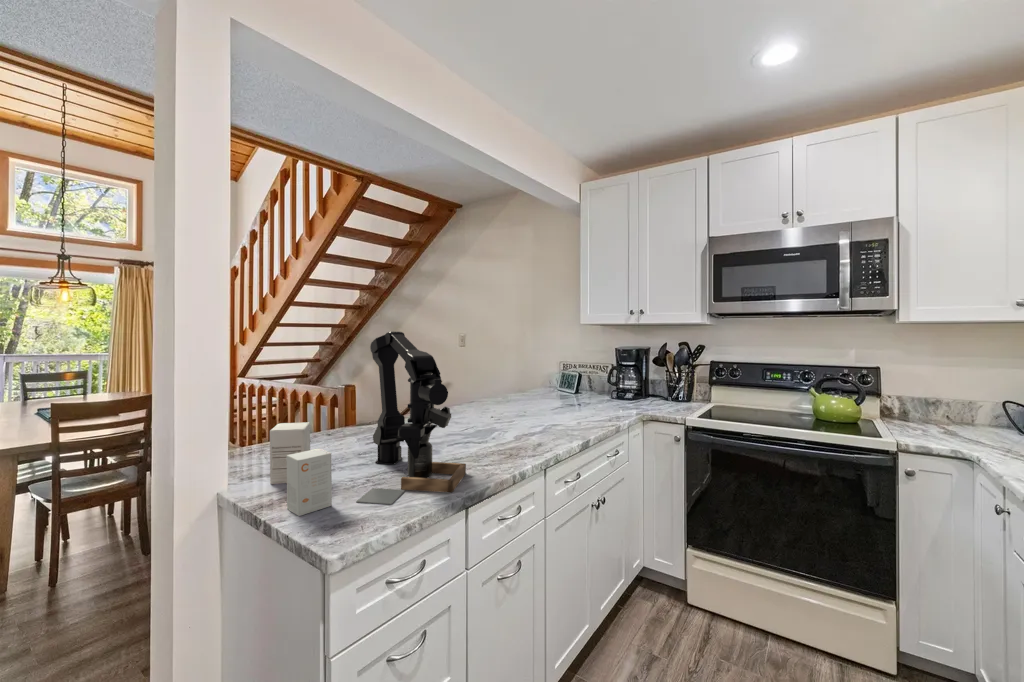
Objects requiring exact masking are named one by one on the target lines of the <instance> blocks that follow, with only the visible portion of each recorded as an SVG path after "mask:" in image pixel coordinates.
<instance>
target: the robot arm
mask: <svg viewBox="0 0 1024 682" xmlns="http://www.w3.org/2000/svg"><path fill="white" fill-rule="evenodd" d="M369 348H370V352H371V355H372V360H373V361H374V362H375V364H376V365H377V366H378V372H379V373H378V374H379V385H380V386H379V389H380V400H381V413H380V414H379V415H380V416H379V417H378V419H377V426H376V429H375V431H374V432H373V435H372V441H373V443H374V444H375V445H377V459H376V461H375V462H374V463H375V464H381V465H382V464H383V465H396V464H397V463H398V462H400V461H401V460H402V459H403V457H402V446H401V443H402V442H405V444H406V445H407V448H408V447H409V449H410V451H411V454H412V456H413V458H415V459H417V458H418V455H419V449H420V443H421V439H422V438H423V437H424V436H425V435H426V434H424V432H427V433H429V440H428V442H429V441H430V437H431V434H432V431H434V430H435V429H436V428H437V427H438V428H441V429H445V428H446V427H448V426H449V423H450V420H451V419H452V413H451V409H450V407H448V406H444V407H442V408H441V409H440V408H436V407H435V406H440V405H442V404H444V403H445V402H446V401H447V399H448V397H449V391H448V388H447V386H446V385H444V384H443V382H442V377H441V372H440V370H439V368H438V367H439V366H438V365H437V362H436V360H435V358H434V357H433V355H432V354H431V353H428V352H427V351H422V350H420V349H418V348H417V347H416V346H415V345H414V343H412V342H411V341H410V340H409V339H408V338H407V337H406V336H405V333H404V332H403V331H388V332H386V333H385V334H383V335H380V336H379V337H378V336H377V337H376V338H375V339H373V340H372V341H371V343H370V347H369ZM399 356H400V357H401V359H402V360H403V361H404V369H405V370H406V373H407V374H408V375H409V377H408V379H407V382H408V383H409V384H410V385H409V387H410V389H409V397H410V398H409V403H408V404H407V409H409V418H408V419H407V422H406V419H405V415H404V414H401V412H400V411H399V409H398V398H397V396H398V395H397V383H396V372H395V370H396V369H395V364H396V362H397V360H398V358H399Z"/></svg>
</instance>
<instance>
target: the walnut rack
mask: <svg viewBox="0 0 1024 682" xmlns="http://www.w3.org/2000/svg"><path fill="white" fill-rule="evenodd" d="M466 467H467V463H465V462H464V463H462V462H443V461H432V474H439V475H440V474H443V475H451V476H450V477H449V479H447V478H446V479H445V478H433V477H432V478H431V477H429V478H416V477H408V476H401V477H400V490H405V491H418V492H419V491H420V492H421V491H423V492H437V493H451V494H452V493H453V492H454V491H455V489H456V488H457V486H458V485H459V483H460V482H461V481H462V480H463V478H464V477H465V475H466V473H467V472H466V471H467V470H466V469H467V468H466Z"/></svg>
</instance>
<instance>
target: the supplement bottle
mask: <svg viewBox="0 0 1024 682" xmlns="http://www.w3.org/2000/svg"><path fill="white" fill-rule="evenodd" d="M424 434H426V435H425V436H424V437H423V438H422V439H421V443H420V449H419V455H418V458H417V459H415V458H413V456H412V454H411V451H410V449H409V447H408V446H407V477H416V478H431V476H432V475H433V473H432V462H433V444H432V443H431V441H430V438H429V433H427V432H424ZM428 440H429V441H430V442H428Z"/></svg>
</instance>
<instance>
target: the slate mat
mask: <svg viewBox="0 0 1024 682" xmlns="http://www.w3.org/2000/svg"><path fill="white" fill-rule="evenodd" d="M405 492H406V490H402V489H398V488H397V489H393V488H379V487H378V488H377V487H376V488H375V487H372V488H371V489H369V490H368V491H367V492H366V493H365V494H364V495H362V496H361V497H360V498H359V499H358V500H356V503H358V504H359V503H361V504H372V505H373V504H374V505H375V504H376V505H387V506H389V505H390V506H392V505H393V504H394V503H395V502H396V501H397V500H398V499H399V498H400V497H401V496H402V495H403V494H404V493H405Z"/></svg>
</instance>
